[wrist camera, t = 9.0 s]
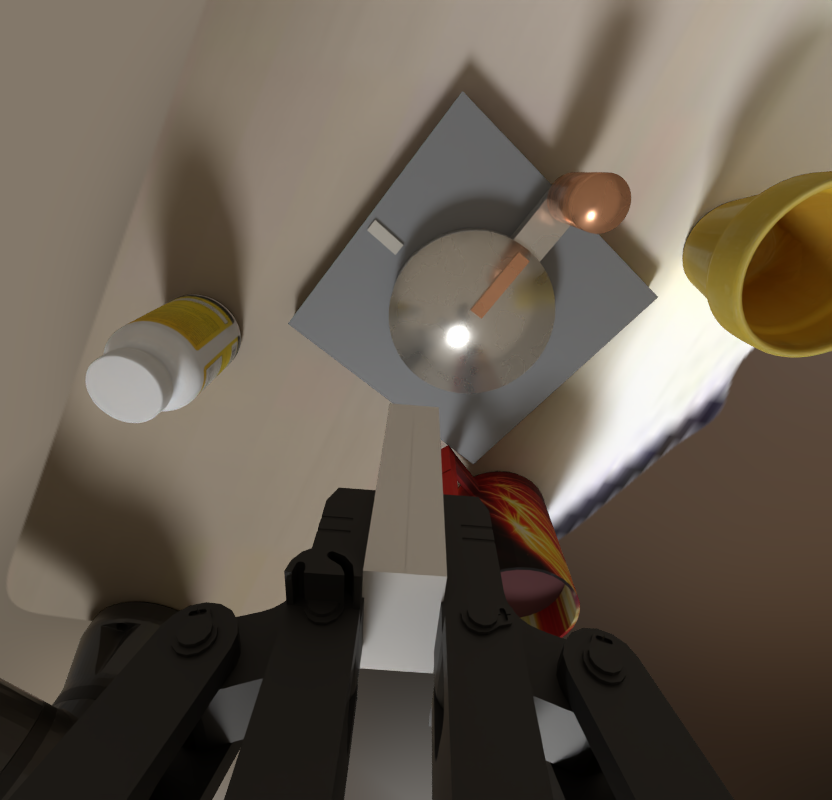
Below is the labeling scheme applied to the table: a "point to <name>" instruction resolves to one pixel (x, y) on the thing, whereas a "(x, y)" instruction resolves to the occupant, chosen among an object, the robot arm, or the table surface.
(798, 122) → the table surface
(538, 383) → the base plate
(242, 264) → the table surface
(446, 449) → the mug
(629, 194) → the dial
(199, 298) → the pill bottle
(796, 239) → the plant pot
